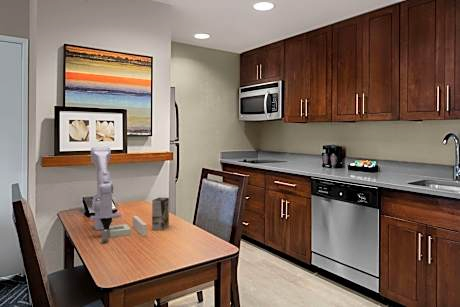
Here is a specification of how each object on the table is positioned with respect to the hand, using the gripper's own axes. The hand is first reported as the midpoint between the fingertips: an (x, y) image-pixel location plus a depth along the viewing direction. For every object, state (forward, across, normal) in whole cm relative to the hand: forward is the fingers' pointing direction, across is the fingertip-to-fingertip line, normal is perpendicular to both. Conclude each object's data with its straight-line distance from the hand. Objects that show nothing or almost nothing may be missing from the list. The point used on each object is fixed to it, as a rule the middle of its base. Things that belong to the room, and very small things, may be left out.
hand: (106, 232), depth 167 cm
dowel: (+1, -2, -11) cm, 11 cm away
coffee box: (+1, +29, 0) cm, 29 cm away
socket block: (+1, +6, 0) cm, 6 cm away
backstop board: (+1, +17, -1) cm, 17 cm away
